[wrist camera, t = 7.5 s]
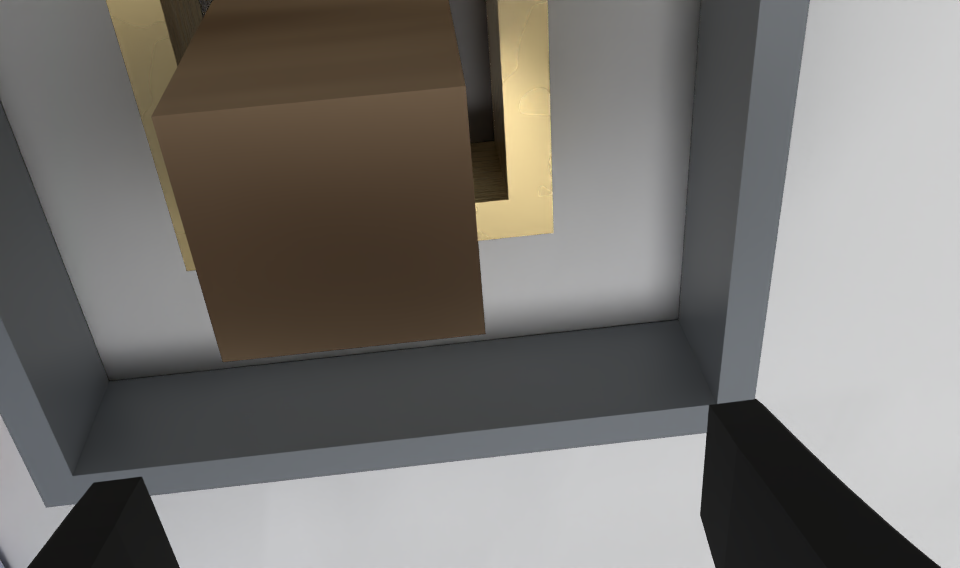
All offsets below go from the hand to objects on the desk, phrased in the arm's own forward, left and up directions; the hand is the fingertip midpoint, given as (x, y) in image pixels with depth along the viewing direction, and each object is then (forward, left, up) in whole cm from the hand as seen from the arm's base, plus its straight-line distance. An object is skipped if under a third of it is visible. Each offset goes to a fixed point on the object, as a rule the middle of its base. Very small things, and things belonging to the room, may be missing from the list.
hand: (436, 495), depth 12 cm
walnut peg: (+3, +1, -9) cm, 9 cm away
